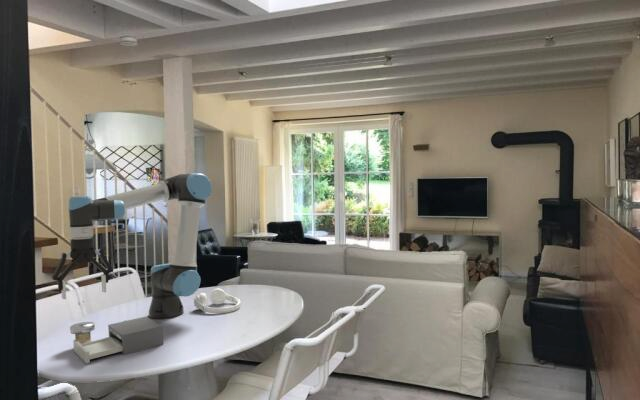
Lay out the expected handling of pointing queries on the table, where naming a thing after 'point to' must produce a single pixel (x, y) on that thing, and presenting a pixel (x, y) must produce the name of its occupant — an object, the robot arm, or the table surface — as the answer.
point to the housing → (137, 334)
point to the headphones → (216, 301)
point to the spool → (83, 337)
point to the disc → (82, 327)
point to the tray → (97, 348)
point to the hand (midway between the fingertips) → (84, 295)
